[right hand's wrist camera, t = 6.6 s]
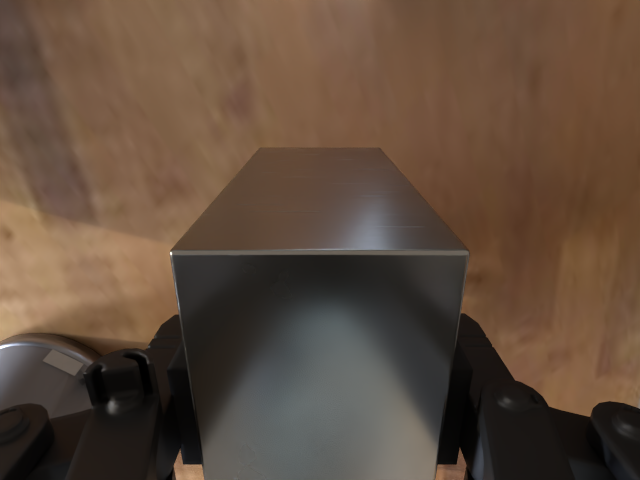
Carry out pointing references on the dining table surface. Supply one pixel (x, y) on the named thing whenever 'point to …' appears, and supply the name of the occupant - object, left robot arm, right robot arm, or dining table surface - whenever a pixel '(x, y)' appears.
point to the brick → (319, 320)
